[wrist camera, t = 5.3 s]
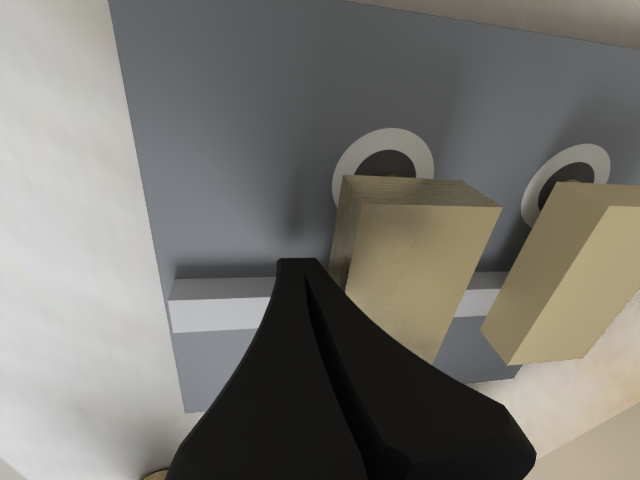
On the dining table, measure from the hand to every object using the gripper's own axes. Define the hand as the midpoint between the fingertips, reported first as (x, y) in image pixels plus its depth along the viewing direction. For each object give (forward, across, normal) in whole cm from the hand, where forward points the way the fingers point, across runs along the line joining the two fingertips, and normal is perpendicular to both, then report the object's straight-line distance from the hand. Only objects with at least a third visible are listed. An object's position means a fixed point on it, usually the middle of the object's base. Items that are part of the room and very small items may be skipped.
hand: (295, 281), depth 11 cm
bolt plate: (+3, -5, +1) cm, 6 cm away
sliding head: (+1, -3, 0) cm, 3 cm away
